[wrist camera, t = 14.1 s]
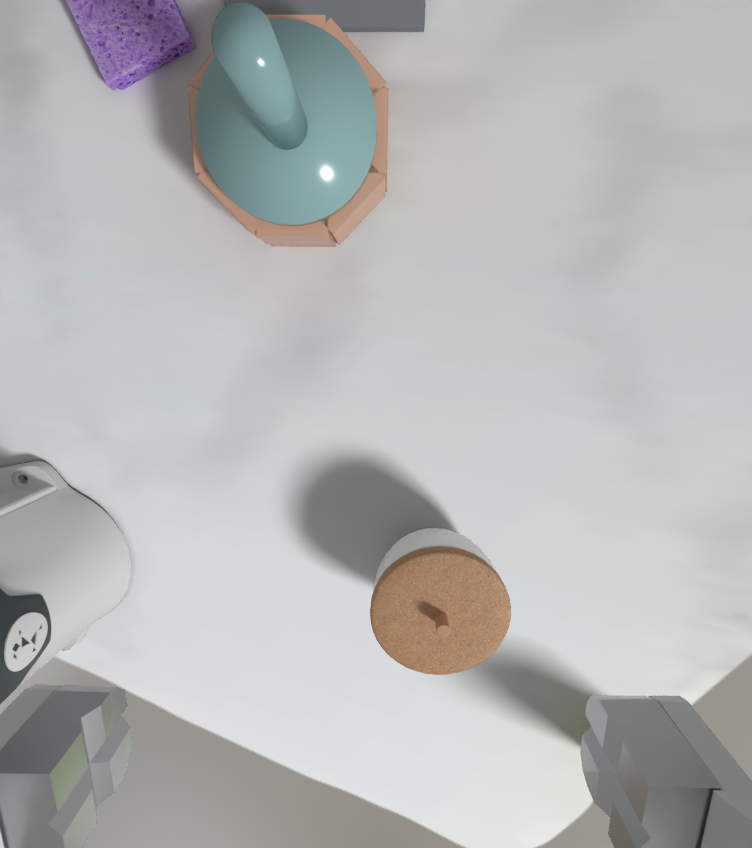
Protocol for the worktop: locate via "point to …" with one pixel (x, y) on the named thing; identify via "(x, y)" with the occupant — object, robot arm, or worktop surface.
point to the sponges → (131, 36)
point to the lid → (284, 117)
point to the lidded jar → (438, 603)
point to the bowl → (361, 203)
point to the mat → (352, 13)
